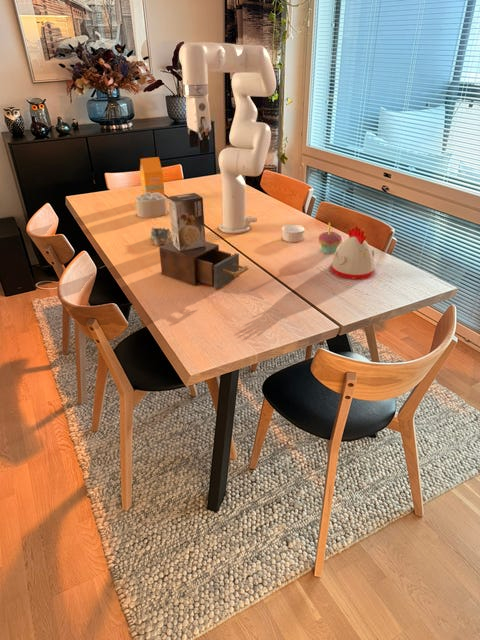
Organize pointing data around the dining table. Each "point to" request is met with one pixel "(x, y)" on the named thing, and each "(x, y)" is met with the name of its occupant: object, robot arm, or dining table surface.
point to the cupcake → (329, 241)
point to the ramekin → (292, 233)
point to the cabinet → (182, 261)
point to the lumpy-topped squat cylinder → (151, 205)
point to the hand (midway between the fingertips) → (199, 149)
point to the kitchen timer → (353, 257)
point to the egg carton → (160, 236)
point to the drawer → (218, 268)
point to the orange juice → (151, 175)
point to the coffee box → (187, 221)
